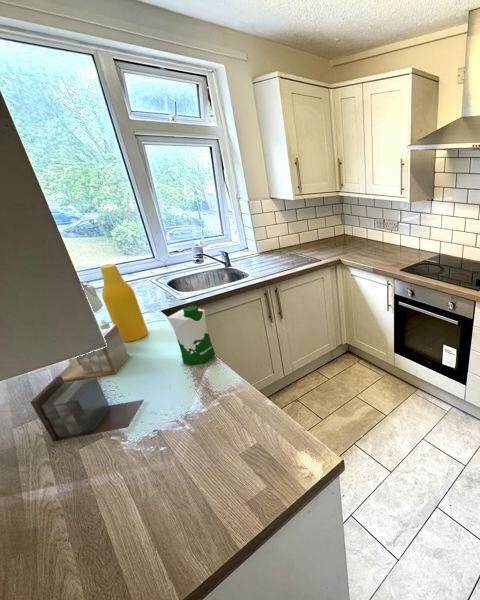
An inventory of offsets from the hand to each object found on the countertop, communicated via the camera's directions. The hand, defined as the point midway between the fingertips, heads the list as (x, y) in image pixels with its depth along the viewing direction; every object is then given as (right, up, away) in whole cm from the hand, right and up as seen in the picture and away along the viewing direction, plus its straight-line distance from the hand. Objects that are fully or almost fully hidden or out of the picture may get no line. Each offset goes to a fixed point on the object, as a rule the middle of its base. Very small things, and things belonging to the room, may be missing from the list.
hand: (68, 327), depth 102 cm
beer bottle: (-1, -6, +26) cm, 27 cm away
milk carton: (+33, -12, +13) cm, 38 cm away
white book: (0, -10, +5) cm, 12 cm away
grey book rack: (+24, -24, -14) cm, 37 cm away
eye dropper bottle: (-1, -10, +18) cm, 20 cm away
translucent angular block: (+2, -14, +7) cm, 16 cm away
